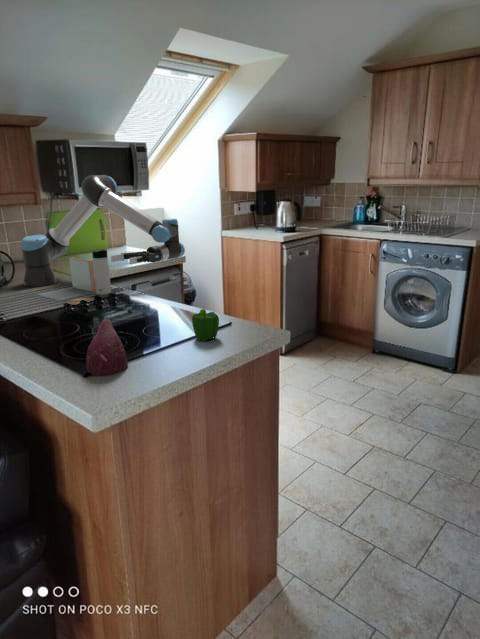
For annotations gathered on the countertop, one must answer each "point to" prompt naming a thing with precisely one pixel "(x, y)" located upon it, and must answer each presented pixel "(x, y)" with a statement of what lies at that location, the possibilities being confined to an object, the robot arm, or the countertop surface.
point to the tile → (82, 274)
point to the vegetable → (106, 352)
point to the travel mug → (101, 272)
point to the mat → (65, 293)
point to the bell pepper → (205, 324)
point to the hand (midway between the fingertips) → (120, 260)
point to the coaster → (77, 300)
